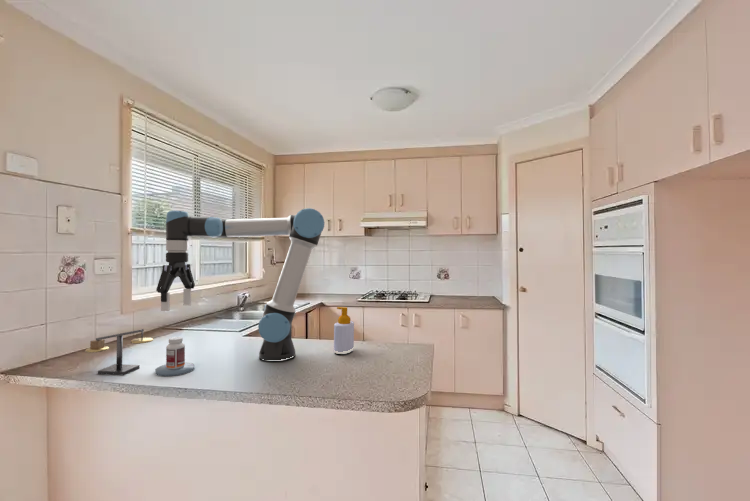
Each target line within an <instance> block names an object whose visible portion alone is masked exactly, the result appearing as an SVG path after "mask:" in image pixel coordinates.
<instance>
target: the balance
mask: <svg viewBox="0 0 750 501" xmlns="http://www.w3.org/2000/svg"><path fill="white" fill-rule="evenodd" d="M144 332H145V329H144V328H141V329H137V330H131V331H125V332H120V333H116V334H109V335H106V336H99V337H96V338H95V339H93V340H90V343H89V344H90V347H87V348H86V349H85V353H92V354H93V353H101V352H105V351H108V350H109V349H110V347H109V346H106V345H105V339H106V340H107V339H111V338H116V358H115V360H116V363H114V364H111V365H110V366H107V367H104V368H101V369H99V370H97V375H111V376H125V375H127V374H130V373H132V372H134V371H137V370H139V369H140V364H123V342H124V340H123V337H124V336H127V335H128V336H129V335H133V334H137V333H141V337H139V338H138V337H137V338H133V339H131V340H130V344H135V345H137V344H138V345H139V344H147V343H152V342H153V341H154V338H152V337H144Z"/></svg>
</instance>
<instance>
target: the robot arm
mask: <svg viewBox="0 0 750 501" xmlns="http://www.w3.org/2000/svg"><path fill="white" fill-rule="evenodd" d="M165 220H166V221H165V251H167V252H166V253H165V262H166V263H168V264H163V265H162V270H161V274H160V277H159V280H158V283H157V286H156V290H155V291H156V292H157V293H158V294H160V312H170V310H171V309H170V307H171V306H170V305H171V304H170V303H171V302H170V298H171V296H170V295H171V293H170V292H169V290H170V289H171V286H172V285H173V282H174V281H175V279H176V278H177V277H178V278H179V279H180V281H181V283H182V285H183V287H184V288H183V296H182V297H183V299H182V300H183V306H191V305H192V289H195V283H196V282H195V280H194V277H193V273H192V270H191V269H192V268H191V264H190V263H188V262H189V237H202V238H203V237H206V238H212V239H219V238H239V237H240V238H241V237H264V236H265V237H271V236H273V237H274V236H288V238H289V240H290V246H289V247H288V251H287V254H286V257H285V261H284V264H283V266H282V269H281V272H280V275H279V277H278V281H277V284H276V287H275V290H274V293H273V296H272V298H271V300H269V301H267V302H266V304H264V308H263V314H262V316H261V318H260V320H259V322H258V324H257V325H258V329H257V330H258V333H259V335H260V337H261V338H262V339H263V342H262V343H261V346H260V349H259V352H258V353H259V354H258V359H259V358H261V359H264V360H281V359H286V358H290V357H292V356H294V355H295V356H296V349H295V346H294V342H293V338H292V336H293V335H292V330H293V329H292V324H293V320H294V317H295V314H296V309H295V306H294V304H295V301H296V298H297V296H298V292H299V289H300V287H301V283H302V280H303V277H304V275H305V271H306V268H307V266H308V263H309V259H310V256H311V254H312V250H313V249H315V248H316V247H318V246H319V241H320V238H321V237H322V236H321V235H322V232H323V230H324V228H325V219H324V217H323V215H322V213H321V212H320V211H318V210H317V209H315V208H310V207H307V208H303V209H301V210H299V211H298V212H296V214H290V215H289V216H287V217H269V218H268V217H264V218H235V219H234V218H233V219H231V218H230V219H229V218H228V219H227V218H226V219H221V218H220V217H216V216H215V217H214V216H190V215H189V212H188V211H186V210H169V211H167V212H166V217H165Z"/></svg>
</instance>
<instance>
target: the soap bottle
mask: <svg viewBox="0 0 750 501" xmlns="http://www.w3.org/2000/svg"><path fill="white" fill-rule="evenodd" d="M336 309H337V310H341V315H339V317H338V318H337V322H335V323H334V325H333V351H334V350H335V351H338V352H343V351H348V350H350V349H352V348H353V347H354V345H355V340H354V339H355V338H354V337H355V322H354V321H352V320H351V317H350V316H349V315H348V307H347V306H337V307H336ZM354 348H355V347H354Z"/></svg>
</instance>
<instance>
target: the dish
mask: <svg viewBox="0 0 750 501" xmlns="http://www.w3.org/2000/svg"><path fill="white" fill-rule="evenodd" d="M194 370H195V364H194V363H192V362H187V361H185V365H184V367H182V368H179V369H173V370H171V369H167V368H166V364H163V365H160V366H158V367H156V368H155V375H156V376H158V377H176V376H181V375H186V374H188V373H191V372H193V371H194Z"/></svg>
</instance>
